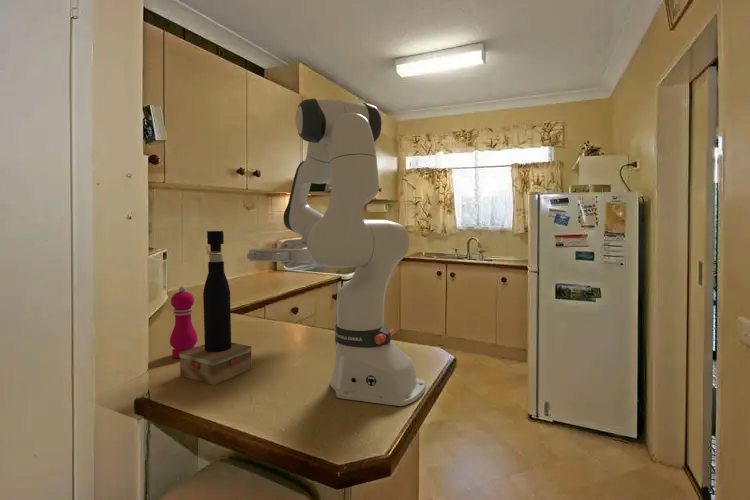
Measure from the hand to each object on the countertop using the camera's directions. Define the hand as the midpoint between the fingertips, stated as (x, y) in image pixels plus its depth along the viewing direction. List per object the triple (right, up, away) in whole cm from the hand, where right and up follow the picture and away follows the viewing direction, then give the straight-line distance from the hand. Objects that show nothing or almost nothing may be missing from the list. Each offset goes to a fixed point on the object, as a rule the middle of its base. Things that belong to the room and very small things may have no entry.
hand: (261, 256), depth 115 cm
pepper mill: (-23, -29, +2) cm, 37 cm away
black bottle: (-8, -24, -11) cm, 27 cm away
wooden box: (-8, -29, -11) cm, 32 cm away
